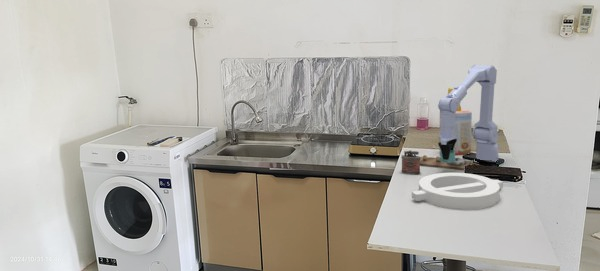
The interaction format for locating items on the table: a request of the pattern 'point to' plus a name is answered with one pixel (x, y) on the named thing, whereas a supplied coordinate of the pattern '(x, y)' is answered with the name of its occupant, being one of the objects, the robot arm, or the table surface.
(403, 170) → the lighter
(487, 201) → the ring with crossbar
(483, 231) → the table surface
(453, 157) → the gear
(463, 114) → the cracker box
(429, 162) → the board
